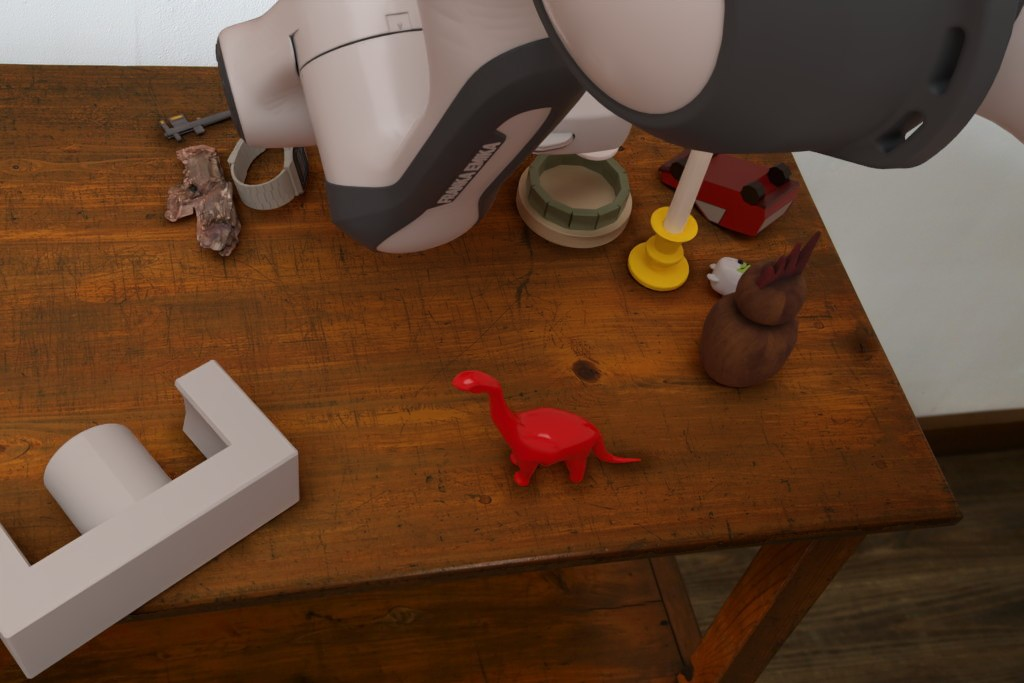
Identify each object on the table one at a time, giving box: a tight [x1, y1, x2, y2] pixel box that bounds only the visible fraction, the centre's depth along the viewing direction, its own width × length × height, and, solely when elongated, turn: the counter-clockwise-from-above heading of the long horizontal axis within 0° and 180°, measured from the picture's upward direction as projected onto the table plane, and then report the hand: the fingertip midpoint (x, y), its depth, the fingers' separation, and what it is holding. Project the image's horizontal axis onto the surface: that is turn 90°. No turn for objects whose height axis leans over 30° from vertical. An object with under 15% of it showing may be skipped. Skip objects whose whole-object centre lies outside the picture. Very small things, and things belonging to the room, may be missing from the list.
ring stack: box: [515, 154, 633, 249], centre depth 89 cm, size 10×10×3 cm
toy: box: [706, 256, 873, 361], centre depth 85 cm, size 7×3×15 cm
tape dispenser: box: [0, 359, 300, 680], centre depth 64 cm, size 19×9×6 cm, turn 133°
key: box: [158, 109, 231, 142], centre depth 91 cm, size 12×1×3 cm
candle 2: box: [627, 150, 713, 292], centre depth 81 cm, size 5×5×16 cm
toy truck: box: [657, 148, 800, 238], centre depth 91 cm, size 6×12×5 cm, turn 43°
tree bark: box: [163, 144, 242, 257], centre depth 83 cm, size 6×12×2 cm, turn 20°
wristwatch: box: [227, 137, 310, 211], centre depth 85 cm, size 9×6×5 cm
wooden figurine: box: [699, 230, 822, 388], centre depth 76 cm, size 7×6×15 cm
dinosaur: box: [451, 369, 642, 487], centre depth 69 cm, size 4×15×12 cm, turn 100°
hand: (628, 28), depth 76 cm, fingers closed on candle 1, 3 cm apart
